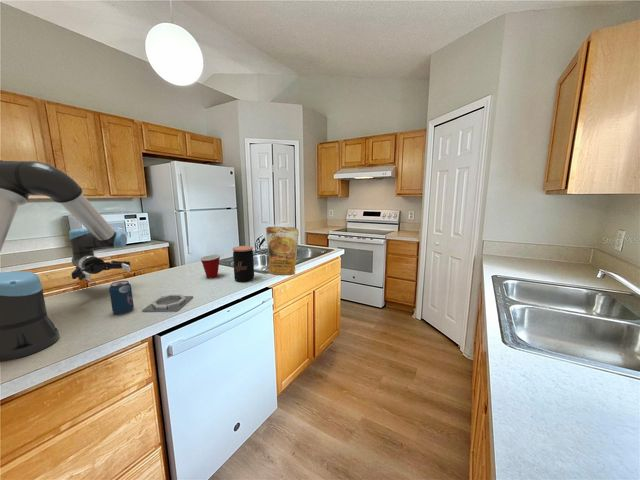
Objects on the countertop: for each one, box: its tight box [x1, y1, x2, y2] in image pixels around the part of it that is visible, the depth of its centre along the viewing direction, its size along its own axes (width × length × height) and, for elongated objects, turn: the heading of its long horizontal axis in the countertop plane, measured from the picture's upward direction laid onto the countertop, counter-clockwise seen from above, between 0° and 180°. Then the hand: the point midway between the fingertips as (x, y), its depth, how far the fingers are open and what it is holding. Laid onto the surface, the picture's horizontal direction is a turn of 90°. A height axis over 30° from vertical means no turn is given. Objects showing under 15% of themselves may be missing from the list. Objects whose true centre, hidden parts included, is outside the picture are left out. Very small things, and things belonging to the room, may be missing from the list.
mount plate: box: [141, 294, 194, 313], centre depth 110 cm, size 14×14×2 cm
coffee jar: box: [232, 245, 255, 283], centre depth 141 cm, size 11×11×18 cm
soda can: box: [108, 280, 135, 315], centre depth 103 cm, size 7×7×12 cm
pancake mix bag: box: [265, 226, 299, 276], centre depth 150 cm, size 7×19×28 cm, turn 80°
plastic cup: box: [199, 254, 221, 279], centre depth 146 cm, size 11×11×12 cm
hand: (110, 272), depth 107 cm, fingers open, 13 cm apart
